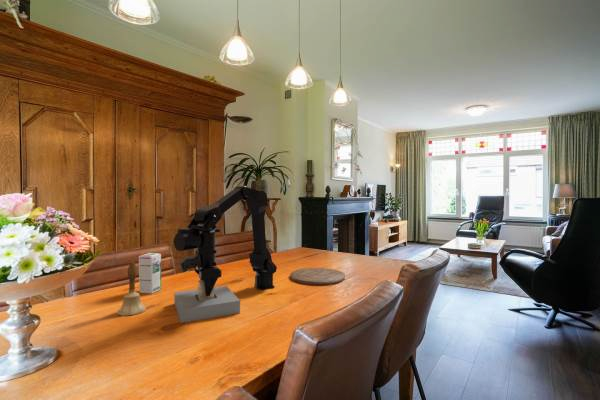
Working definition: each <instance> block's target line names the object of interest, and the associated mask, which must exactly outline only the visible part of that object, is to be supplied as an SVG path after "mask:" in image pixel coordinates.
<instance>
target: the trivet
mask: <svg viewBox="0 0 600 400" xmlns="http://www.w3.org/2000/svg"><path fill="white" fill-rule="evenodd" d="M289 274H290V275H289V277H290V280H291V281H292V282H294V283H297V284H301V283H302V285H306V284H308V285H307V286H331V285H330V284H333V285H337V284H336V283H338V284H340V282H341V283H342V281H343V280H344V281H345V280H346V275H345V273H344V272H342V271H340V270H337V269H333V268H328V267H304V268H303V267H302V268H298V269H294V270H293V271H291V273H289ZM344 281H343V282H344Z"/></svg>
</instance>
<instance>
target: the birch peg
mask: <svg viewBox="0 0 600 400" xmlns="http://www.w3.org/2000/svg"><path fill="white" fill-rule="evenodd" d="M197 281H198V283H197V284H198V286H197V287H198V288H197V289H198V301H199V300H206V299H213V298H214V287H215V286H214V287H213V290H212V292H211V294H210V296H206V293H205V287H204V282H203V281H202V280H200V279H198V280H197Z"/></svg>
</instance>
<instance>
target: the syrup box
mask: <svg viewBox="0 0 600 400" xmlns="http://www.w3.org/2000/svg"><path fill="white" fill-rule="evenodd" d="M138 275H139V276H138V279H139V281H138V283H139V285H138V286H139V288H138V290H139V294H140V293H141V294H154V293H156V292H158V291H160V290H162V289H163V288H162V254H161V253H159V252H148V253H145V254H141V255H139V256H138Z"/></svg>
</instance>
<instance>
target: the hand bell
mask: <svg viewBox="0 0 600 400" xmlns="http://www.w3.org/2000/svg"><path fill="white" fill-rule="evenodd" d="M137 271H138V270H137V266H136V262H135V261H130V262H129V266H128V268H127V278H128V281H129V283H128V285H129V286H128V293H126V294H125V295H124V296H123V300H122V305H121V306H120V308H119V309H118V310H117V312H116V314H117V316H118V315H119V316H124V317H125V316H134V315H139V314H141V313H143V312H145V311H147V307H146V306H145V305H144V304H143V303H142V301H141V296H140V292H136V283H135V281H136V278H137V273H138V272H137Z"/></svg>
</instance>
